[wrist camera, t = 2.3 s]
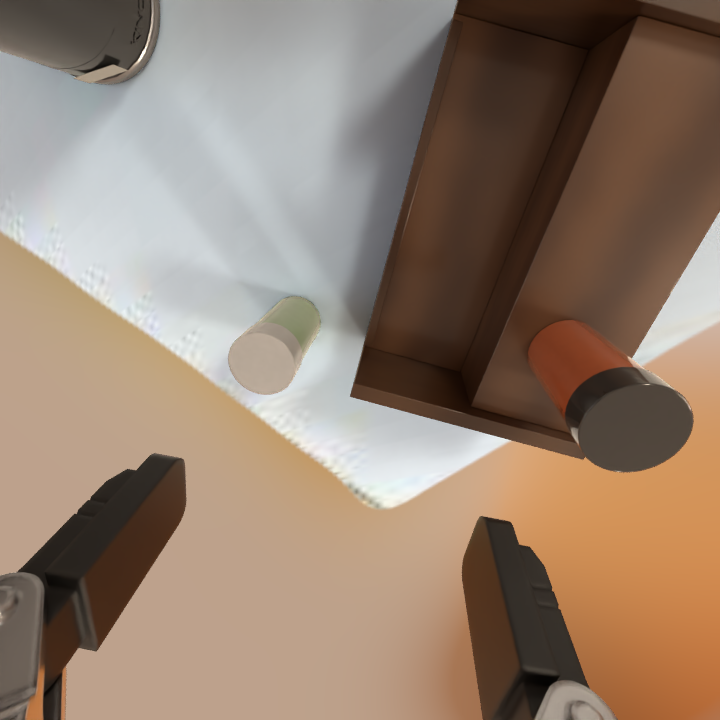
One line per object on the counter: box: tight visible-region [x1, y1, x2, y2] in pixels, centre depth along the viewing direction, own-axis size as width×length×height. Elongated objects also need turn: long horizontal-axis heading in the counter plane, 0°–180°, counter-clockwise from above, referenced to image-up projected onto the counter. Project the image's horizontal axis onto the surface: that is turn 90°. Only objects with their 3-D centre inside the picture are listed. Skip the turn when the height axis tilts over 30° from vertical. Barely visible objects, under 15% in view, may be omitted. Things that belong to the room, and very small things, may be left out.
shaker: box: [228, 296, 321, 395], centre depth 30 cm, size 4×4×9 cm
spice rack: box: [350, 0, 720, 459], centre depth 25 cm, size 15×22×10 cm
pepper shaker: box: [528, 320, 693, 472], centre depth 20 cm, size 4×4×8 cm
